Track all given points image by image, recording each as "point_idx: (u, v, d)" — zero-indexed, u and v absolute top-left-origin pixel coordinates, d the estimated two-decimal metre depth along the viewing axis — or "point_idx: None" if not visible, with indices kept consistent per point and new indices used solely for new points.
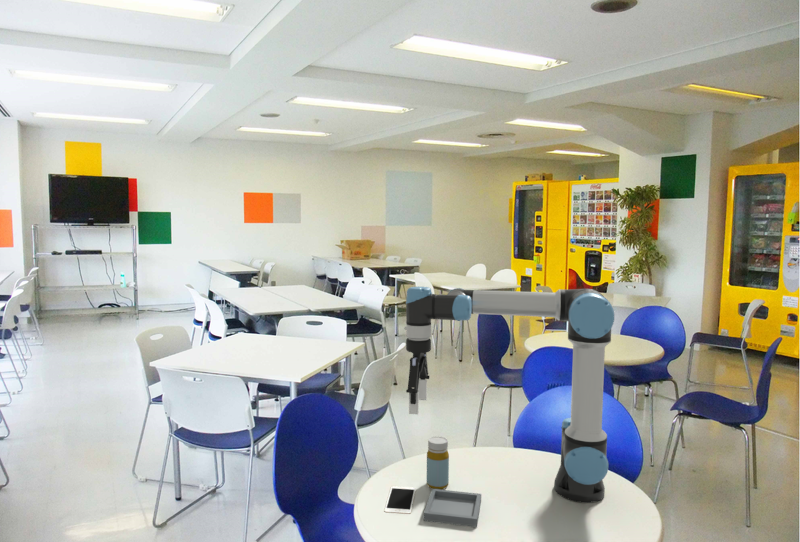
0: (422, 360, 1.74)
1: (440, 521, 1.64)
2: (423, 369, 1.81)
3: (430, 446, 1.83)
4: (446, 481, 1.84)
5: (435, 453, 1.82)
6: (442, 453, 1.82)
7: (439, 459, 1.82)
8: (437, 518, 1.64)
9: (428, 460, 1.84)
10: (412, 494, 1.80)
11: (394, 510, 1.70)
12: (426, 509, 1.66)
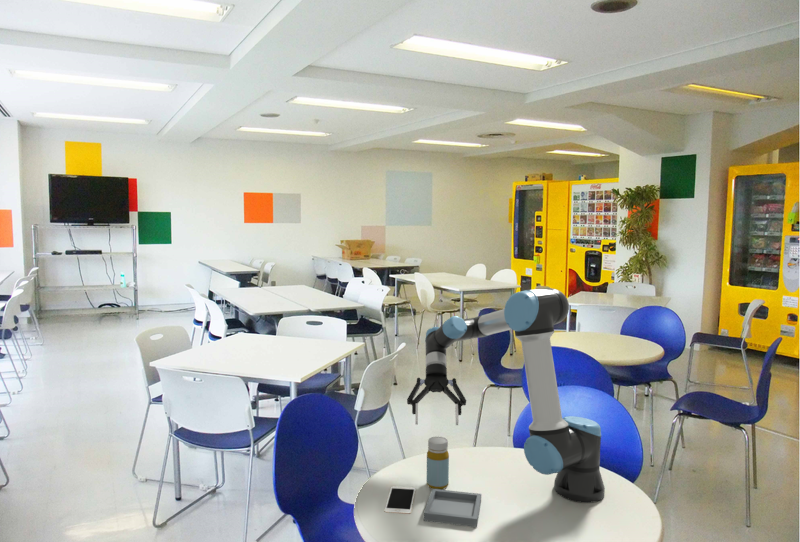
0: None
1: (440, 521, 1.64)
2: (448, 393, 2.01)
3: (430, 446, 1.83)
4: (446, 481, 1.84)
5: (435, 453, 1.82)
6: (442, 453, 1.82)
7: (439, 459, 1.82)
8: (437, 518, 1.64)
9: (428, 460, 1.84)
10: (412, 494, 1.80)
11: (394, 510, 1.70)
12: (426, 509, 1.66)
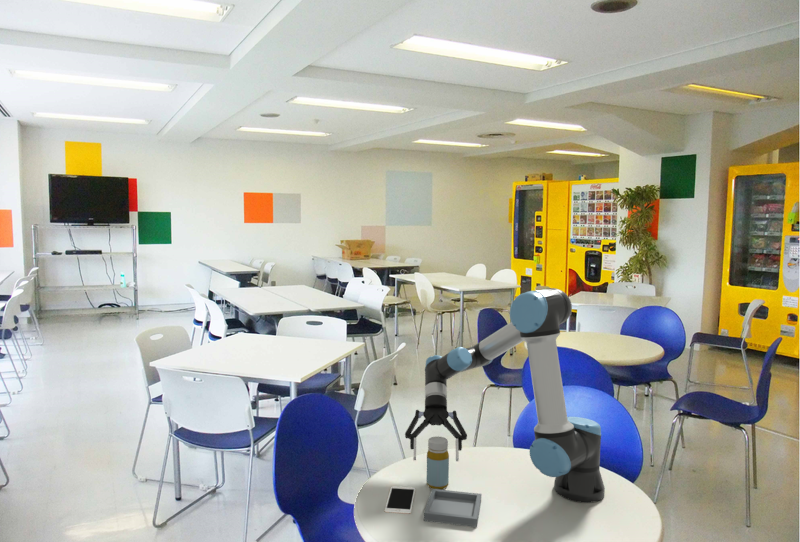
0: None
1: (440, 521, 1.64)
2: (448, 427, 1.92)
3: (430, 446, 1.83)
4: (446, 481, 1.84)
5: (435, 453, 1.82)
6: (442, 453, 1.82)
7: (439, 459, 1.82)
8: (437, 518, 1.64)
9: (428, 460, 1.84)
10: (412, 494, 1.80)
11: (394, 510, 1.70)
12: (426, 509, 1.66)
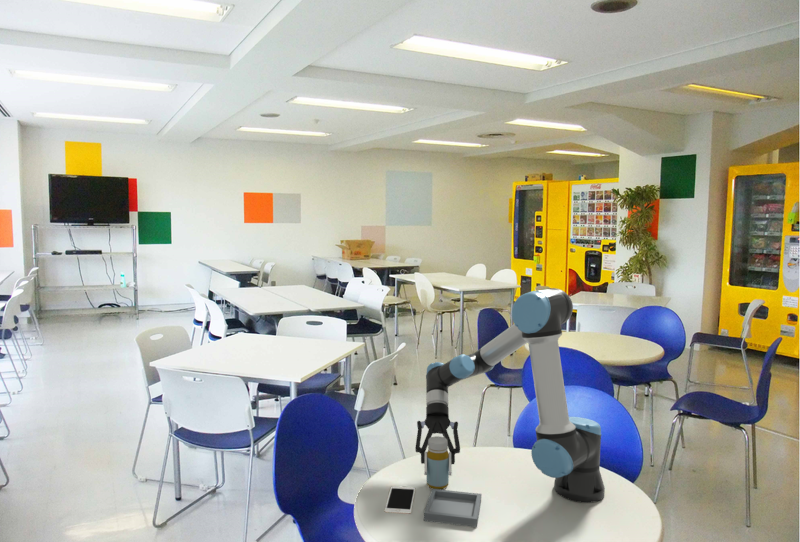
0: (431, 422, 1.92)
1: (440, 521, 1.64)
2: (445, 437, 1.89)
3: (430, 446, 1.83)
4: (446, 481, 1.84)
5: (435, 453, 1.82)
6: (442, 453, 1.82)
7: (439, 459, 1.82)
8: (437, 518, 1.64)
9: (428, 460, 1.84)
10: (412, 494, 1.80)
11: (394, 510, 1.70)
12: (426, 509, 1.66)
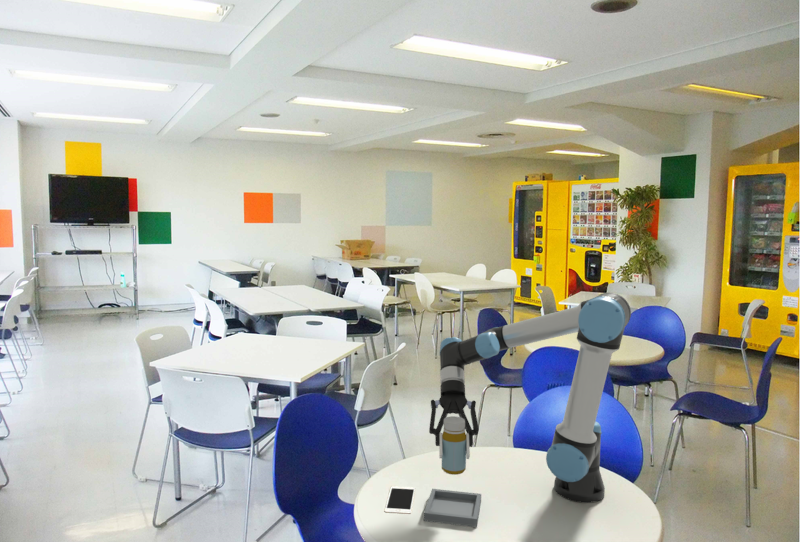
0: (446, 401, 1.74)
1: (440, 521, 1.64)
2: (462, 417, 1.72)
3: (446, 426, 1.66)
4: (463, 465, 1.67)
5: (451, 434, 1.65)
6: (459, 434, 1.65)
7: (456, 441, 1.65)
8: (437, 518, 1.64)
9: (444, 442, 1.67)
10: (412, 494, 1.80)
11: (394, 510, 1.70)
12: (426, 509, 1.66)
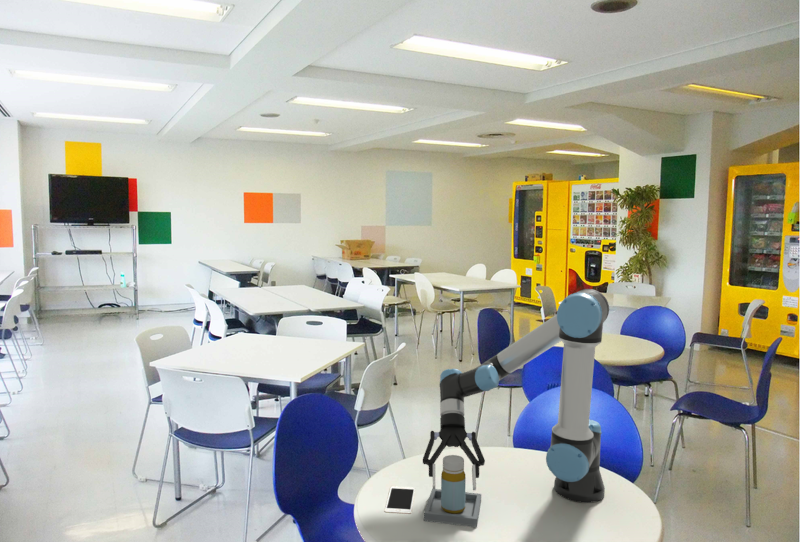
0: None
1: (440, 521, 1.64)
2: (465, 450, 1.73)
3: (445, 466, 1.67)
4: (463, 504, 1.68)
5: (451, 474, 1.66)
6: (458, 474, 1.66)
7: (455, 480, 1.66)
8: (437, 518, 1.64)
9: (443, 481, 1.68)
10: (412, 494, 1.80)
11: (394, 510, 1.70)
12: (426, 509, 1.66)
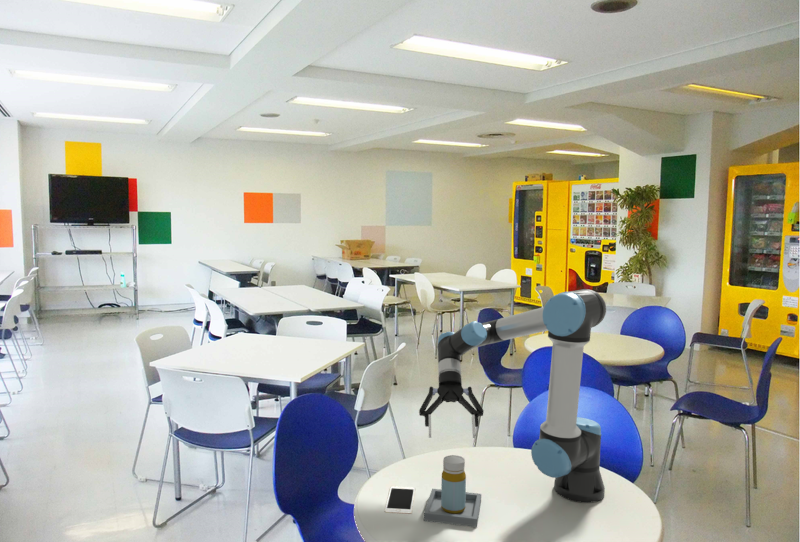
0: None
1: (440, 521, 1.64)
2: (463, 403, 1.85)
3: (445, 466, 1.67)
4: (463, 504, 1.68)
5: (451, 474, 1.66)
6: (459, 474, 1.66)
7: (455, 481, 1.66)
8: (437, 518, 1.64)
9: (443, 481, 1.68)
10: (412, 494, 1.80)
11: (394, 510, 1.70)
12: (426, 509, 1.66)
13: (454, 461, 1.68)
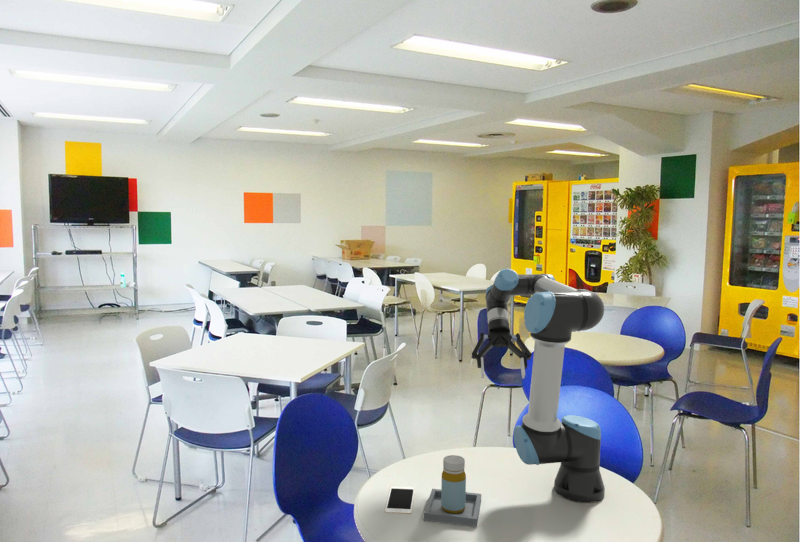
0: None
1: (440, 521, 1.64)
2: (513, 348, 2.00)
3: (445, 466, 1.67)
4: (463, 504, 1.68)
5: (451, 474, 1.66)
6: (459, 474, 1.66)
7: (455, 481, 1.66)
8: (437, 518, 1.64)
9: (443, 481, 1.68)
10: (412, 494, 1.80)
11: (395, 510, 1.70)
12: (426, 509, 1.66)
13: (454, 461, 1.68)
